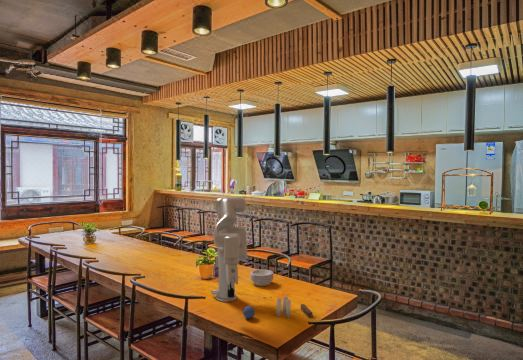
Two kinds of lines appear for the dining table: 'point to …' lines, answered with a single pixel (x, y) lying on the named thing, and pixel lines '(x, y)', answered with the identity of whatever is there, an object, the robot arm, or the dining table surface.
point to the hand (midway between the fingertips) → (230, 296)
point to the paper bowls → (261, 277)
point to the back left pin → (284, 304)
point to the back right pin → (288, 308)
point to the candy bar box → (216, 266)
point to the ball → (248, 312)
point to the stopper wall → (306, 310)
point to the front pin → (278, 307)
